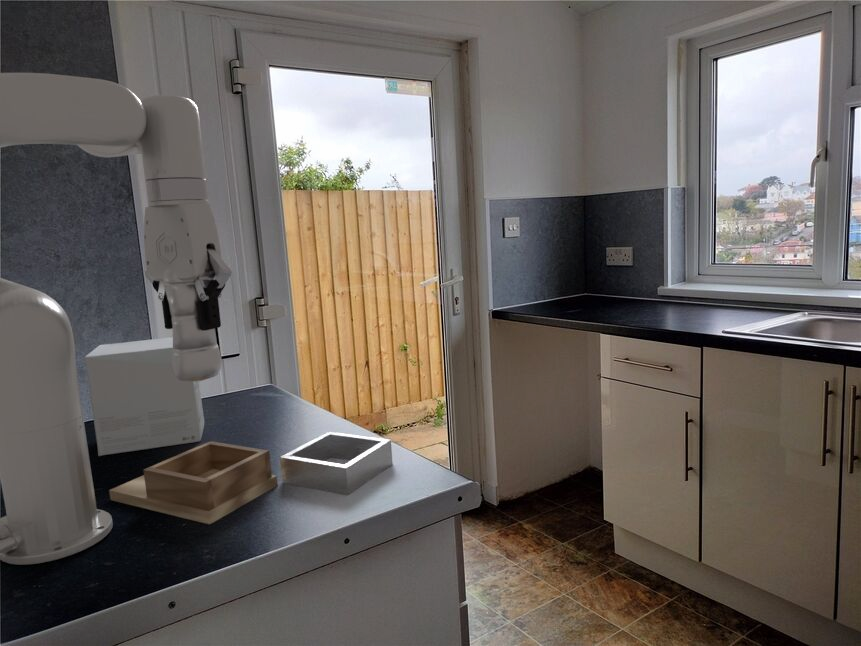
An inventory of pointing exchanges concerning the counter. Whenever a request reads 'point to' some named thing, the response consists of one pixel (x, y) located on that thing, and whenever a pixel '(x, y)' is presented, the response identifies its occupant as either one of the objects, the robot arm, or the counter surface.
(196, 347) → the plastic bottle
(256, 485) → the wooden tray
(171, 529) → the counter surface
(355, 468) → the holder
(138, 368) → the supplement box
